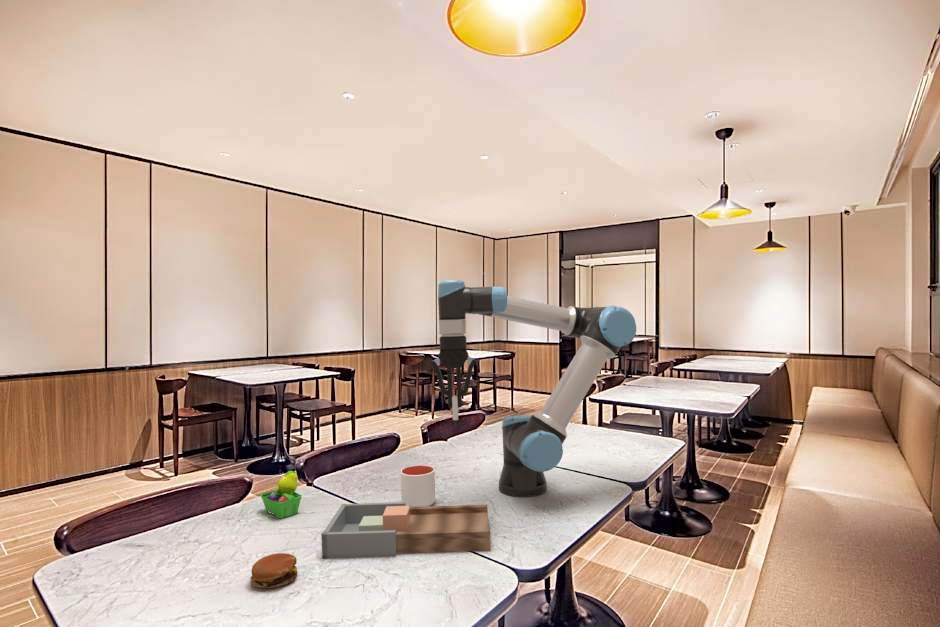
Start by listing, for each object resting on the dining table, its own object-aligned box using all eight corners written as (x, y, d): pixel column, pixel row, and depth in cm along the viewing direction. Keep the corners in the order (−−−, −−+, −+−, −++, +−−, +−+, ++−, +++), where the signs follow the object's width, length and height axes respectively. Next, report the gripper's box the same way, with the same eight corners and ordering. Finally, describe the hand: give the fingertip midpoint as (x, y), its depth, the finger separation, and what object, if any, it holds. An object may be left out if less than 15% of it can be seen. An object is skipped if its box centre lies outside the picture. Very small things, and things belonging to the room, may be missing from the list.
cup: (430, 511, 145) (429, 476, 145) (396, 509, 147) (395, 475, 147) (439, 498, 155) (438, 465, 155) (407, 497, 157) (406, 464, 157)
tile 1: (387, 530, 131) (386, 515, 131) (383, 541, 125) (383, 525, 125) (364, 531, 131) (363, 516, 131) (359, 542, 125) (358, 525, 125)
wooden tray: (487, 521, 136) (487, 504, 136) (490, 550, 119) (489, 531, 120) (405, 524, 136) (405, 507, 136) (396, 553, 119) (396, 534, 119)
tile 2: (410, 521, 131) (409, 505, 131) (407, 530, 125) (407, 514, 125) (387, 522, 131) (386, 506, 131) (383, 531, 125) (382, 515, 125)
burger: (246, 577, 111) (246, 556, 111) (290, 565, 116) (290, 544, 116) (256, 598, 103) (256, 574, 103) (303, 583, 108) (302, 561, 108)
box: (406, 522, 138) (405, 502, 138) (396, 555, 118) (395, 532, 118) (342, 524, 138) (342, 504, 138) (322, 558, 118) (321, 534, 118)
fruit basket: (259, 512, 149) (258, 473, 149) (288, 503, 155) (287, 466, 155) (278, 522, 141) (277, 481, 141) (307, 512, 147) (306, 473, 147)
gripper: (475, 334, 147) (478, 415, 147) (430, 335, 147) (433, 417, 147) (476, 335, 139) (478, 421, 139) (428, 336, 139) (431, 422, 139)
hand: (455, 419), depth 143 cm, fingers closed
